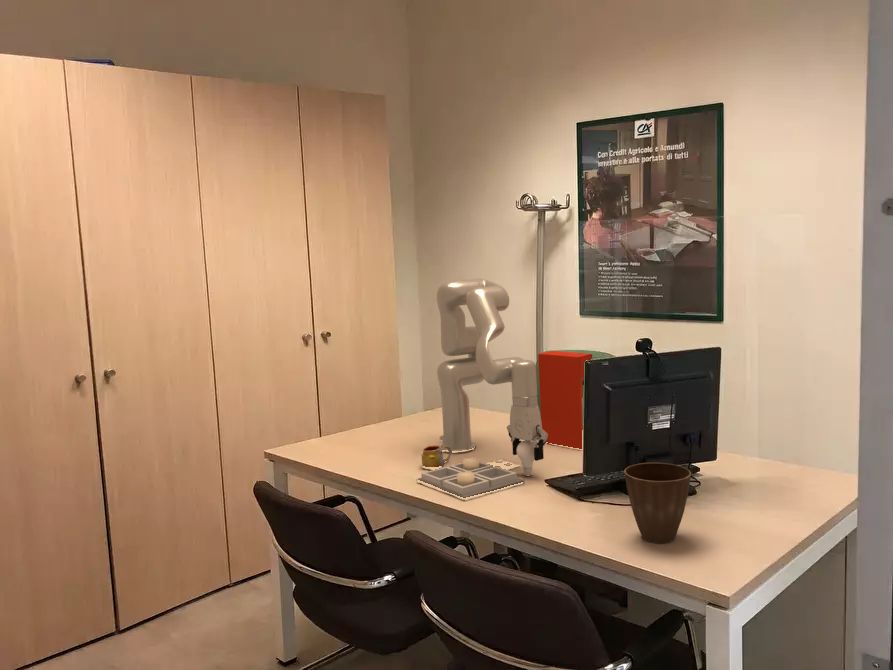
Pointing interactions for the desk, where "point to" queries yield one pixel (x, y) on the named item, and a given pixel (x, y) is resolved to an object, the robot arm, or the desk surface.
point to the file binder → (562, 396)
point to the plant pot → (657, 498)
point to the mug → (434, 456)
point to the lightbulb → (526, 455)
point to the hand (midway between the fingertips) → (528, 457)
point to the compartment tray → (470, 478)
